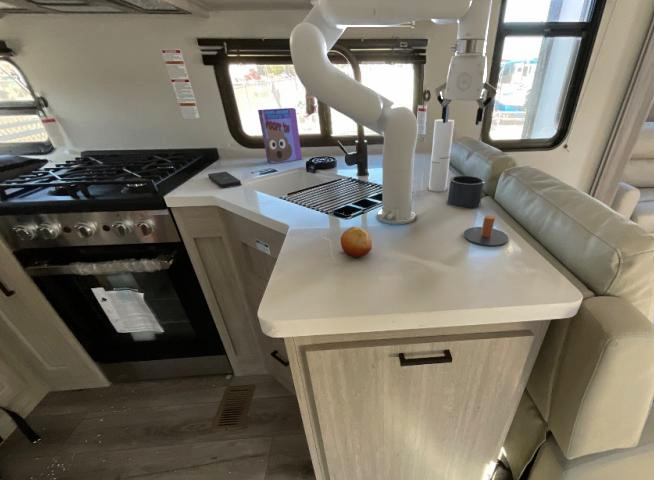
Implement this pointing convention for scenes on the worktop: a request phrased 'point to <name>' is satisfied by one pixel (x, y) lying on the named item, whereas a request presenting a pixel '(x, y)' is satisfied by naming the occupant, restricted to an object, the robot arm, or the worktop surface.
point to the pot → (465, 191)
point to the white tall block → (440, 154)
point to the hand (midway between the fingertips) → (461, 123)
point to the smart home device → (224, 179)
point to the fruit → (356, 242)
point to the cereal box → (280, 135)
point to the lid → (486, 234)
